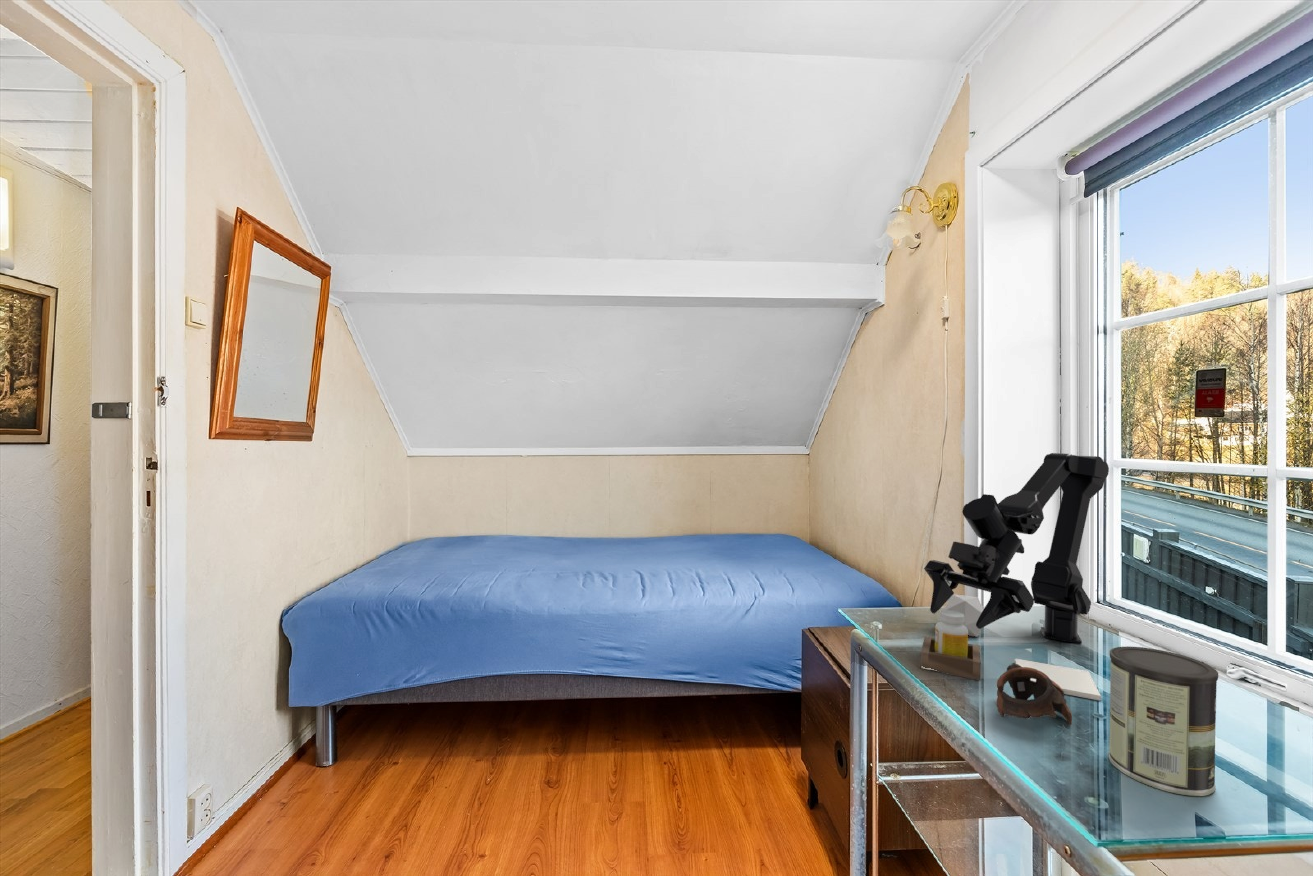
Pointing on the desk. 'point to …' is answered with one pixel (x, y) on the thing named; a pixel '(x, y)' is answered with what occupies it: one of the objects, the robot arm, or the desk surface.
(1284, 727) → the desk surface
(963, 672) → the walnut holder
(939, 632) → the supplement bottle
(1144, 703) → the coffee can
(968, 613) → the die
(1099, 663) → the desk surface
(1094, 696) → the off-white coaster
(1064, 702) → the broken brown clay pot
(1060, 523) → the robot arm
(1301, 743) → the desk surface
